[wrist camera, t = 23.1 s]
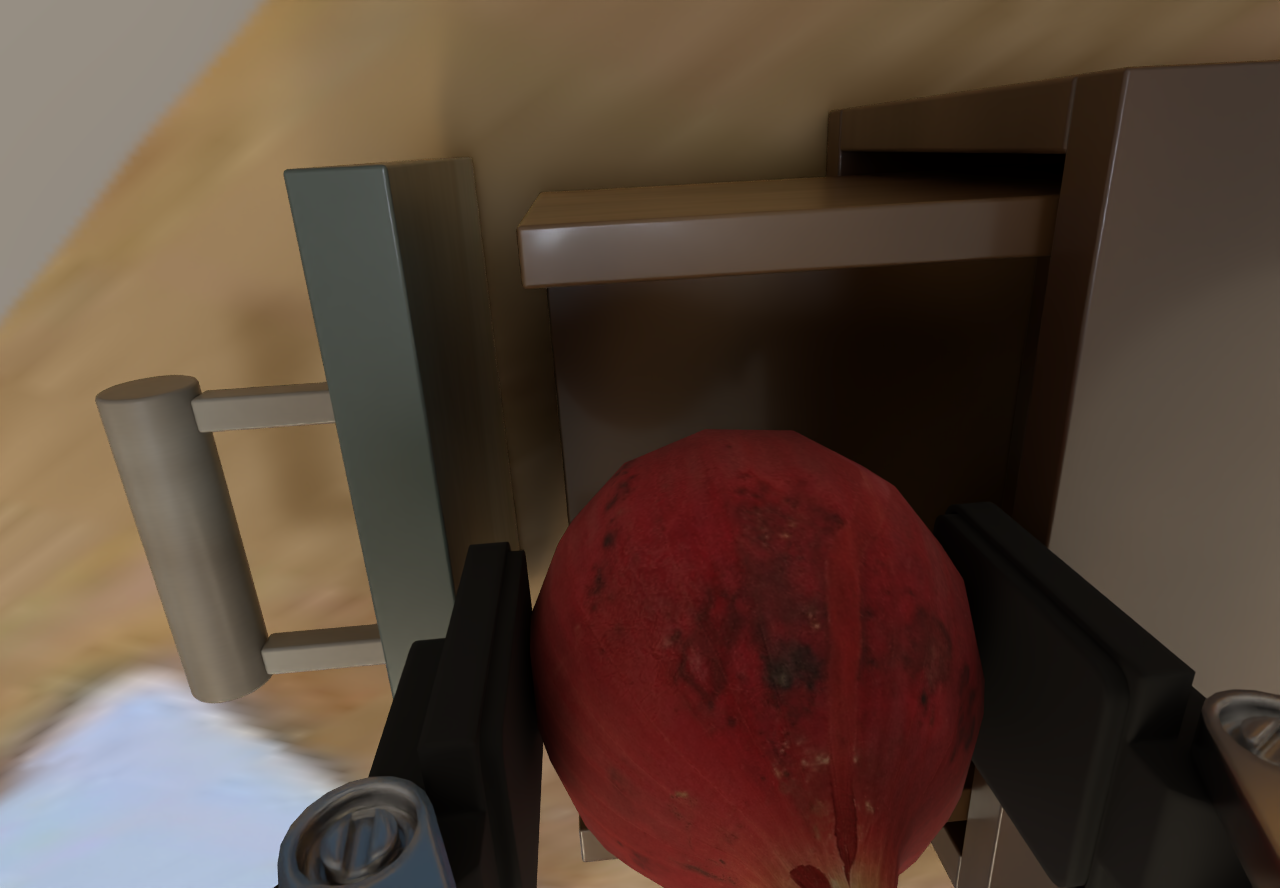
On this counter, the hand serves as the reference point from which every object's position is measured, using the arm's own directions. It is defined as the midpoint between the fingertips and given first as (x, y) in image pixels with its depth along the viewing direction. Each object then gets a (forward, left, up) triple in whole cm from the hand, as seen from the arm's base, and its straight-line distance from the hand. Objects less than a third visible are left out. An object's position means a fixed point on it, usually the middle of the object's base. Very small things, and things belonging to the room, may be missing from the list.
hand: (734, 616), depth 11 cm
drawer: (0, 0, -9) cm, 9 cm away
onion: (0, 0, -3) cm, 3 cm away
